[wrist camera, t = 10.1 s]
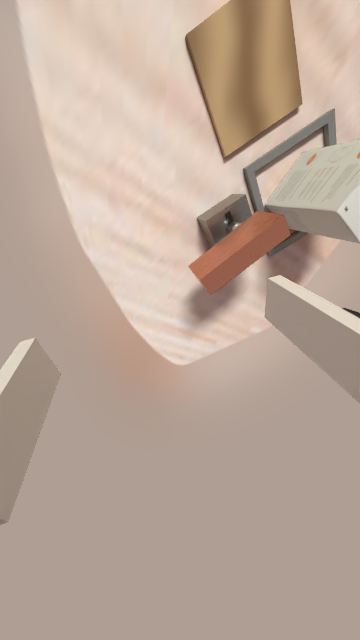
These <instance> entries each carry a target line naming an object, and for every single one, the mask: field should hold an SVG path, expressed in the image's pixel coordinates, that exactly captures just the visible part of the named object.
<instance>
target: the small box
mask: <svg viewBox="0 0 360 640" xmlns="http://www.w3.org/2000/svg"><path fill="white" fill-rule="evenodd" d="M265 206H266V207H267V208H268V209H269V210H270V211H271V212H272V213H276V214H282V215H284V216H285V219H286V222H287V225H288V228H289V229H293V230H298V231H302V232H307V233H312V234H317V235H322V236H326V237H331V238H336V239H341V240H346V241H351V242H356V243H360V139H358V140H354V141H350V142H345V143H341V144H336V145H332V146H327V147H323V148H319V149H314V150H310V151H305V152H302V153H301V155H300V156H299V158H298V159H297V161H296V162H295V163H294V165H293V166H292V167H291V169H290V170H289V172H288V173H287V174H286V176H285V177H284V179H283V180H282V181H281V183H280V184H279V186H278V187H277V188H276V190H275V191H274V193H273V194H272V196H271V197H270V198H269V200H268V201H267V203H266V204H265Z"/></svg>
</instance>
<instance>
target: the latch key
mask: <svg viewBox="0 0 360 640" xmlns="http://www.w3.org/2000/svg"><path fill="white" fill-rule="evenodd" d="M227 234H228V235H227V236H225V237H224V238H223V239H222V240H220V241H219V242H218V243H217V244H215V245H214V246H213V247H212V248H210V249H209V250H208V251H207V252H205V253H204V254H203V255H202V256H200V257H199V258H198V259H197V260H195V261H194V262H193V263H192V264H190V265H189V266H188V267H189V268H190V269H191V271H192V272H193V273H194V275H195V276H196V278H197V279H198V280H199V281H200V283H201V284H202V285H203V286H204V288H205V289H206V290H207V291H208V292H209V294H210V295H212V294H213V293H214V292H216V291H217V290H218V289H220V288H221V287H222V286H224V285H225V284H226V283H228V282H229V281H230V280H232V279H233V278H234V277H236V276H237V275H238V274H240V273H241V272H242V271H243V270H245V269H246V268H247V267H249V266H250V265H251V264H253V263H254V262H255V261H257V260H258V259H259V258H261V257H262V256H263V255H265V254H266V253H267V252H269V251H270V250H271V249H273V248H274V247H275V246H277V245H278V244H279V243H281V242H282V241H283V240H285V239H286V238H287V237H289V236H290V235H291V234H290V231H289V228H288V225H287V222H286V219H285V216H284V215H282V214H276V213H269V212H262V211H257V212H256V213H254V214H253V215H252V216H250V217H249V218H248V219H247V220H245V221H244V222H243V223H240V222H236V221H234V222H231V223H230V224H229V225H228V227H227Z"/></svg>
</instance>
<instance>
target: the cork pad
mask: <svg viewBox="0 0 360 640" xmlns="http://www.w3.org/2000/svg"><path fill="white" fill-rule="evenodd" d="M185 39H186V42H187V45H188V49H189V52H190V55H191V58H192V61H193V64H194V67H195V70H196V73H197V76H198V79H199V82H200V85H201V89H202V92H203V95H204V98H205V101H206V104H207V107H208V110H209V113H210V116H211V119H212V122H213V125H214V128H215V132H216V135H217V138H218V141H219V144H220V147H221V150H222V153H223V156H224V157H226V156H228V155H229V154H231V153H232V152H233V151H235V150H236V149H238V148H239V147H241V146H242V145H244V144H245V143H247V142H248V141H249V140H251V139H252V138H254V137H255V136H257V135H258V134H260V133H261V132H262V131H264V130H265V129H267V128H268V127H270V126H271V125H273V124H274V123H276V122H277V121H278V120H280V119H281V118H283V117H284V116H286V115H287V114H289V113H290V112H291V111H293V110H294V109H296V108H297V107H299V106H300V105H302V96H301V88H300V80H299V71H298V63H297V55H296V46H295V38H294V30H293V21H292V13H291V5H290V0H230V1H229V2H228V3H226V4H225V5H224V6H222V7H221V8H220V9H219V10H217V11H216V12H215V13H213V14H212V15H211V16H210V17H208V18H207V19H206V20H204V21H203V22H202V23H201V24H199V25H198V26H197V27H195V28H194V29H193V30H192V31H190V32H189V33H188V34H186V37H185Z"/></svg>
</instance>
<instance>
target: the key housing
mask: <svg viewBox="0 0 360 640" xmlns="http://www.w3.org/2000/svg"><path fill="white" fill-rule="evenodd" d="M250 216H252V214H251V211H250V208H249V204H248V201H247V198H246V195H245V194H232V195H230V196H229V197H227V198H226V199H224V200H223V201H221V202H220V203H218V204H217V205H215V206H214V207H212V208H211V209H209V210H208V211H206V212H205V213H203V214H202V215H200V216H199V217H197V219H198V221H199V224H200V226H201V228H202V230H203V232H204V235H205V237H206V239H207V241H208V243H209V246H210V248H212V247H213V246H214V245H215V244H217V243H218V242H219V241H220V240H222V239H223V238H224V237H225V236H227V235H228V234H227V227H228V225H229V224H230V223H231V222H234V221H236V222H240V223H243V222H244V221H245V220H247V219H248V218H249V217H250Z"/></svg>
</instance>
